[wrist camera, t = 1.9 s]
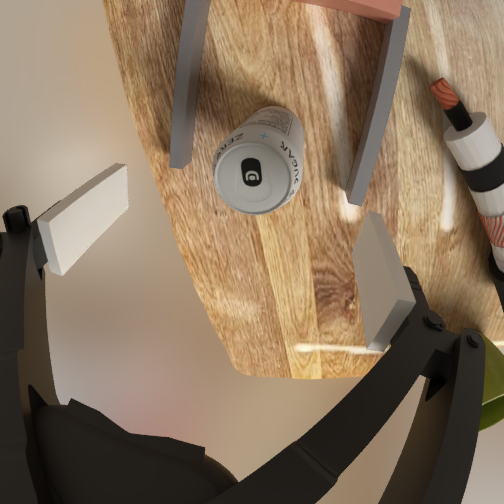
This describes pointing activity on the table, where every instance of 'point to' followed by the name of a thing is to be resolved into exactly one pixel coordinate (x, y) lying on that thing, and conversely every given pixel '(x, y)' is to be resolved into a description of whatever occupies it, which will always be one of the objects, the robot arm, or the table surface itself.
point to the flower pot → (492, 386)
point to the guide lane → (396, 19)
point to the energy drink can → (260, 162)
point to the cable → (478, 170)
